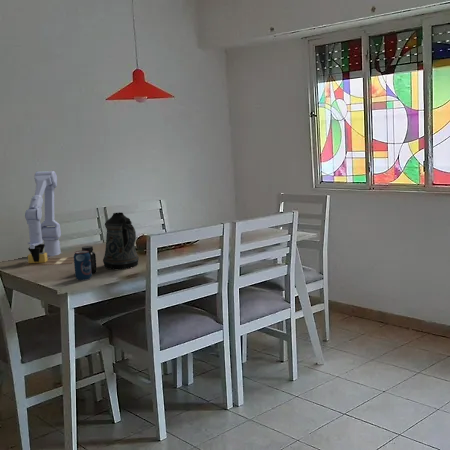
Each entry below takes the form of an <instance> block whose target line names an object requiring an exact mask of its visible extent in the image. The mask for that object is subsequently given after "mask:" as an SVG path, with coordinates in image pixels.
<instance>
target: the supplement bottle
mask: <svg viewBox="0 0 450 450" xmlns="http://www.w3.org/2000/svg"><path fill="white" fill-rule="evenodd" d="M82 250H87V251H88V252H89V254H90V260H91V271H92V275H93V274H96V273H97V271H98V268H97V258H96V257H97V256H96V255H97V254H96V253H95V252H94V248H93V246H92V245H85V246H82V247H81V251H82Z"/></svg>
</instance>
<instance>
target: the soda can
mask: <svg viewBox="0 0 450 450" xmlns="http://www.w3.org/2000/svg"><path fill="white" fill-rule="evenodd" d="M73 257H74V262H73V265H74V275H75V276H74V277H75V278H76V280H77V281H88V280H90V279H91V278H92V275H93V274H92V271H91V260H90V254H89V252H88V251H87V250H82V249H81V250H77V251H75V252H74V255H73Z"/></svg>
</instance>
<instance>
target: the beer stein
mask: <svg viewBox="0 0 450 450" xmlns="http://www.w3.org/2000/svg"><path fill="white" fill-rule="evenodd" d="M132 223H133V222H132V221H131V219H130V218H129V217H128V216H126V215H125V214H124V213H123V212H114V213H113V214H112V215H111V217H110V218H108V219H107V220H106V221H105V222H104V228H105V229H106V236H105V237H106V238H105V251H104V255H103V259H102V262H103V266H104V268H105V269H106V270H111V271H112V270H115V269H118V270H126V268H127V269H132V268H135V267H137V266H138V265H139V261H140V260H139V257H140V256H139V255H138V253H137V251H136V247H135V242H136V238H137V233H136V229H135V227H134V226H133V224H132ZM131 267H132V268H131ZM115 271H116V270H115Z"/></svg>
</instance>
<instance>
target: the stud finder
mask: <svg viewBox="0 0 450 450" xmlns="http://www.w3.org/2000/svg"><path fill="white" fill-rule="evenodd" d="M47 258H48V256H47V253H45V252H43V253H39V262H34V260H33V257H32V254H31V253H29V254H27V262H29V263H45V262H46V261H48V259H47Z"/></svg>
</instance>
